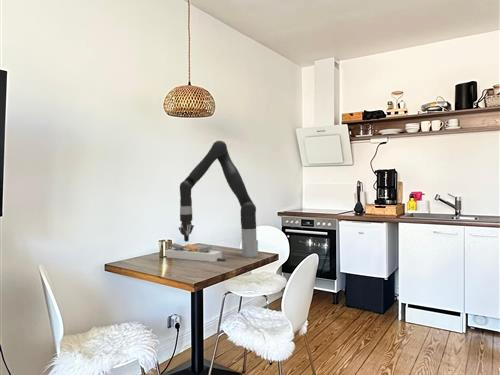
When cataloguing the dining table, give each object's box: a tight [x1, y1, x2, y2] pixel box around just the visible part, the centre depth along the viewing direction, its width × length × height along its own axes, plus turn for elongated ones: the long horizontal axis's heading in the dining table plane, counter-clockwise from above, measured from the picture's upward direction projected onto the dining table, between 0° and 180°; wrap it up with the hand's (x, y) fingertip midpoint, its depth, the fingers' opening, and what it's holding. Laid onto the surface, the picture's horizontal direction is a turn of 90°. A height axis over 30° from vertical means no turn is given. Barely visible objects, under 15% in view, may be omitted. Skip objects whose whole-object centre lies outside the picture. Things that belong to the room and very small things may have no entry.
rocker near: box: [198, 245, 213, 252], centre depth 218 cm, size 7×4×2 cm, turn 63°
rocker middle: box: [184, 243, 199, 251], centre depth 223 cm, size 7×4×2 cm, turn 64°
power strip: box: [165, 247, 226, 263], centre depth 222 cm, size 43×9×5 cm, turn 64°
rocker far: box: [170, 242, 185, 250], centre depth 227 cm, size 7×4×2 cm, turn 64°
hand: (186, 241), depth 224 cm, fingers closed
